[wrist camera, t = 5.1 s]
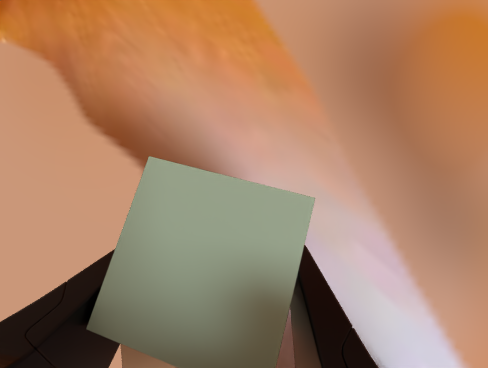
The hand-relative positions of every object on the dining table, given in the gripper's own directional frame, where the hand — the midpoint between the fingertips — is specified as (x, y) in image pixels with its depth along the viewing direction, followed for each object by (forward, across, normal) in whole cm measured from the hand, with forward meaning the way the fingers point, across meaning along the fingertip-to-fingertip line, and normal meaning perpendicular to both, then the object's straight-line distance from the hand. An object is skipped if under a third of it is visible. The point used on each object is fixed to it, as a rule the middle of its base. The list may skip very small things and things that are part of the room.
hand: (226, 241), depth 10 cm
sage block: (+4, 0, +5) cm, 7 cm away
